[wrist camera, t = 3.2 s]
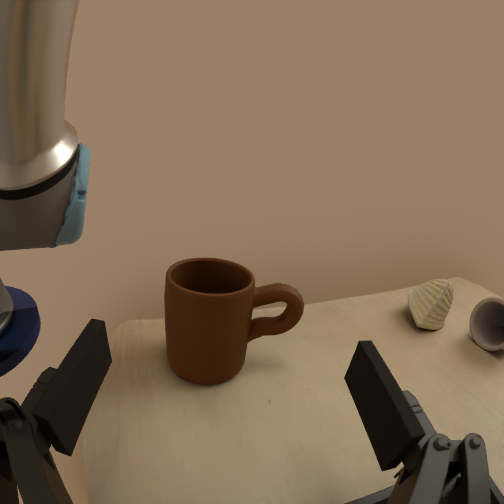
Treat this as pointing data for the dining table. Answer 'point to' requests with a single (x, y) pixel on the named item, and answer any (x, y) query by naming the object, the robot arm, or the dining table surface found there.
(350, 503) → the tray
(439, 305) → the seashell
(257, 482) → the dining table surface
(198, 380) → the mug
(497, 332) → the planter
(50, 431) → the robot arm
